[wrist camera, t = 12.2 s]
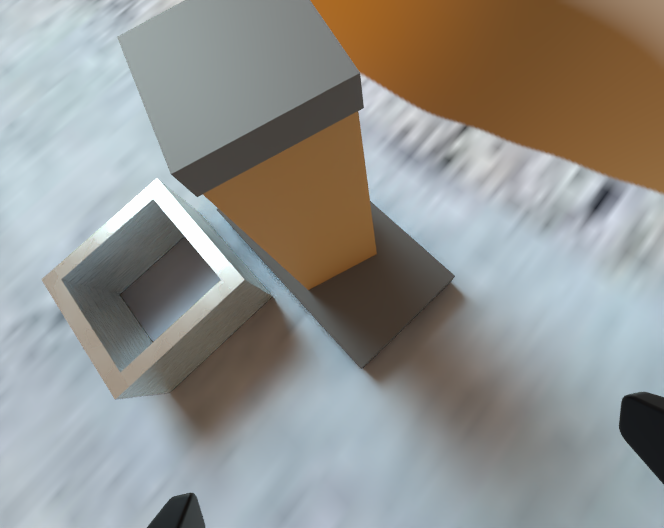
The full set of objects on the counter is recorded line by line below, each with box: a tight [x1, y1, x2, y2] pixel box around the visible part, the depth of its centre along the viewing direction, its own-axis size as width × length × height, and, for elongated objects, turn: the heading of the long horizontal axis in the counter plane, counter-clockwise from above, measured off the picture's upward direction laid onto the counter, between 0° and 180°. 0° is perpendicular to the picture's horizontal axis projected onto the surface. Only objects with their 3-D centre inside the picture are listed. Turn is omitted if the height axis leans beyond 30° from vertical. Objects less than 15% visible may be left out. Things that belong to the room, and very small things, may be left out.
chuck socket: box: [42, 179, 272, 400], centre depth 19 cm, size 8×8×4 cm
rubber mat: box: [217, 201, 455, 369], centre depth 20 cm, size 12×6×1 cm, turn 43°
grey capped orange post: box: [117, 0, 377, 290], centre depth 13 cm, size 4×4×12 cm
